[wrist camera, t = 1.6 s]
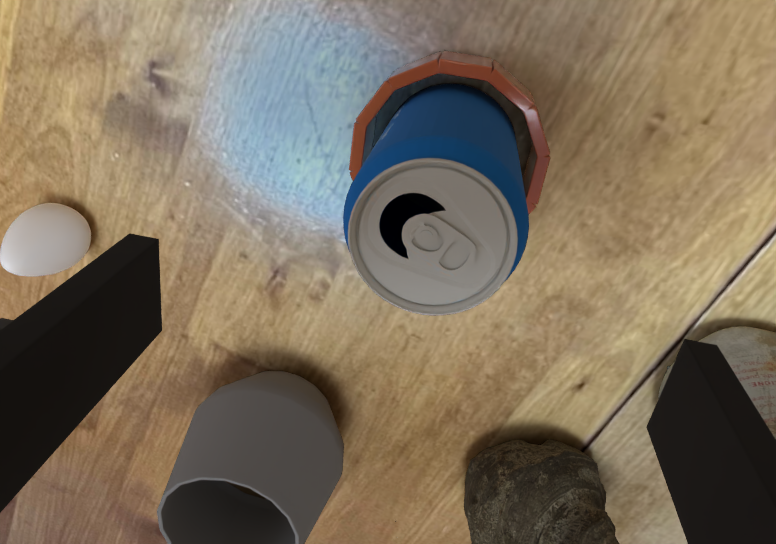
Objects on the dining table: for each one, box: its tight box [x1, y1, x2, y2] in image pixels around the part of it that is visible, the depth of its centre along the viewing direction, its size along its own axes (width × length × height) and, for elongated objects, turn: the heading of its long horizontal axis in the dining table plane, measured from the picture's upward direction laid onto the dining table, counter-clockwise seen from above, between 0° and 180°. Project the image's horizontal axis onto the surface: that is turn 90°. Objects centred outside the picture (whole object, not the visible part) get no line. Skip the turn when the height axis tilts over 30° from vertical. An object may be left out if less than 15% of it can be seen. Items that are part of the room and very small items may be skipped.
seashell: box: [395, 439, 619, 544], centre depth 36 cm, size 11×12×10 cm
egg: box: [0, 203, 91, 276], centre depth 34 cm, size 4×4×6 cm
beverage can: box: [343, 84, 529, 316], centre depth 26 cm, size 6×6×12 cm
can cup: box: [349, 51, 550, 215], centre depth 30 cm, size 9×9×3 cm
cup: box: [157, 371, 344, 544], centre depth 36 cm, size 10×9×10 cm
